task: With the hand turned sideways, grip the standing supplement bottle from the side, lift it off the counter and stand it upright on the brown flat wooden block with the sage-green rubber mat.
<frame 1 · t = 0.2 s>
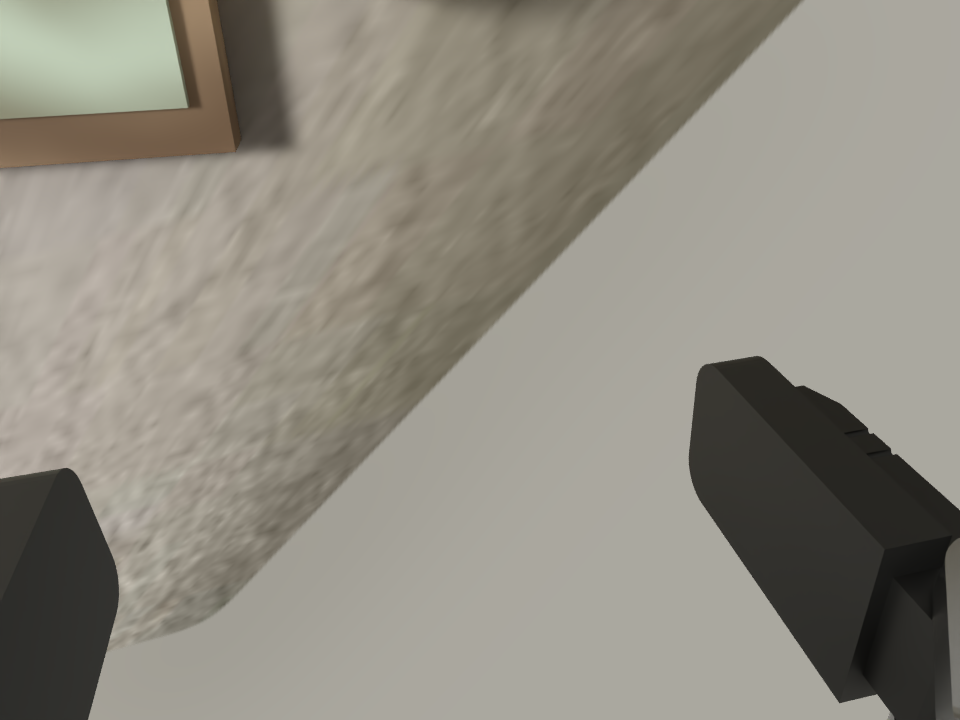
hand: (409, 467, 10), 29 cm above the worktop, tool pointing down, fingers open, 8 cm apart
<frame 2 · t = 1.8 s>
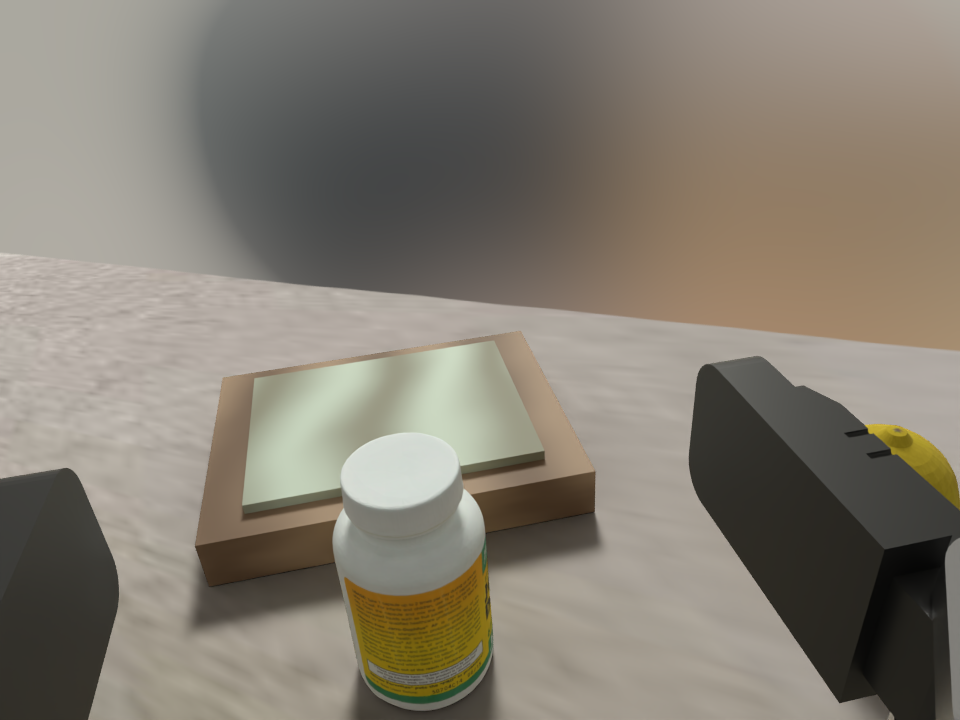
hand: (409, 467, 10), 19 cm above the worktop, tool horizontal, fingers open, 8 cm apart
lemon: (854, 586, 32), on the worktop
supplement bottle: (428, 658, 30), on the worktop
brown flat wooden block: (393, 456, 41), on the worktop
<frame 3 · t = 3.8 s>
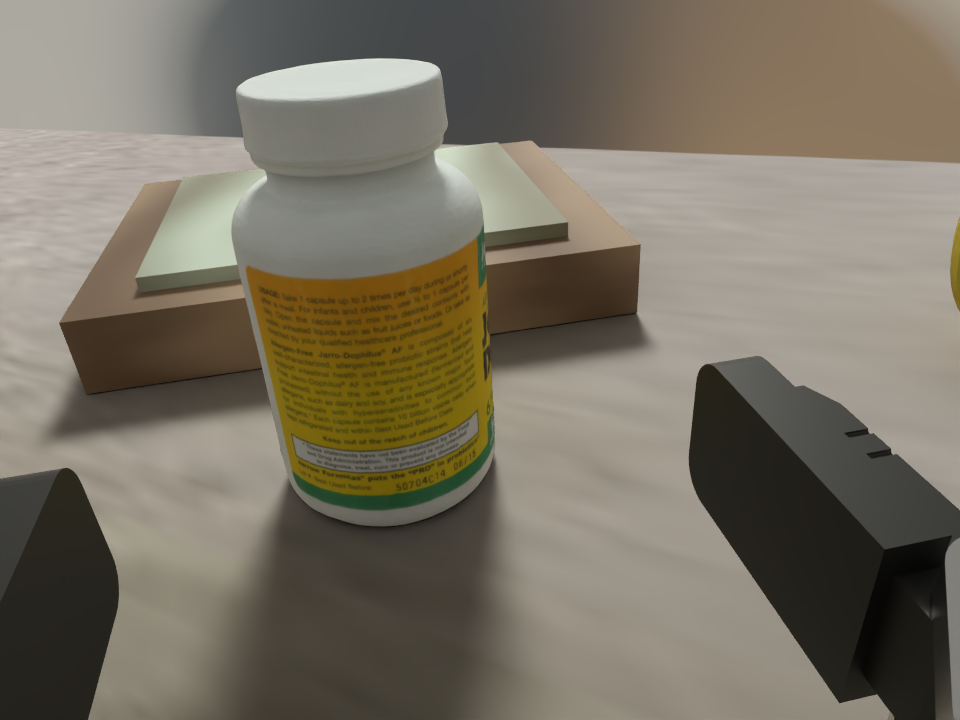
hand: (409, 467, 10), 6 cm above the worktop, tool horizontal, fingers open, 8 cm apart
supplement bottle: (395, 469, 20), on the worktop
brown flat wooden block: (362, 268, 31), on the worktop
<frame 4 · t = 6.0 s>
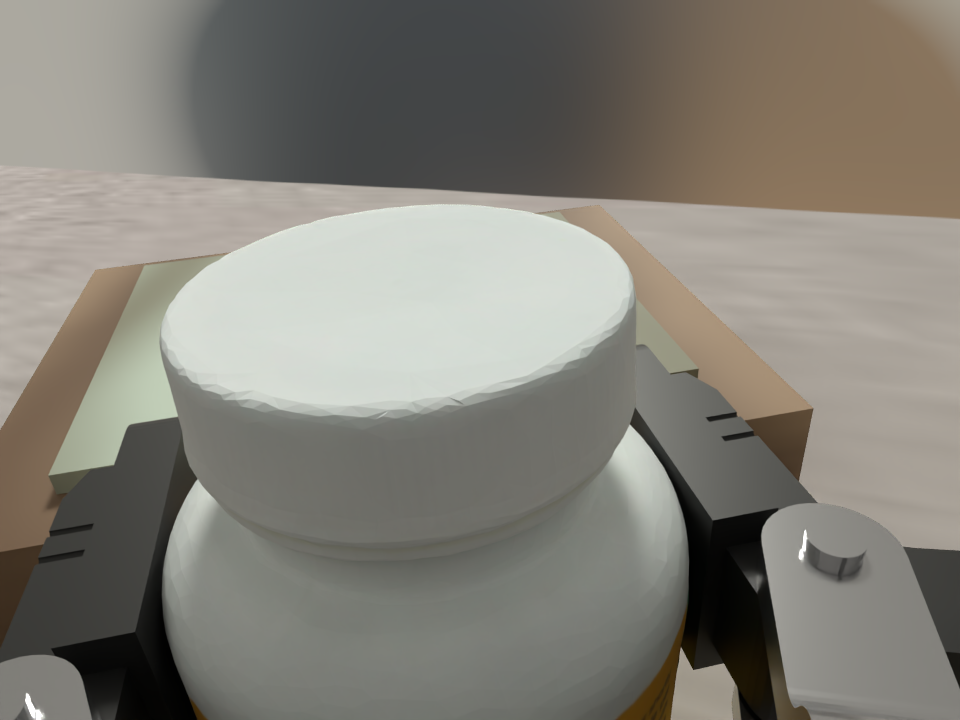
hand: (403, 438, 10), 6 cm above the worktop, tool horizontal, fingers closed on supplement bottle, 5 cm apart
brown flat wooden block: (386, 398, 22), on the worktop
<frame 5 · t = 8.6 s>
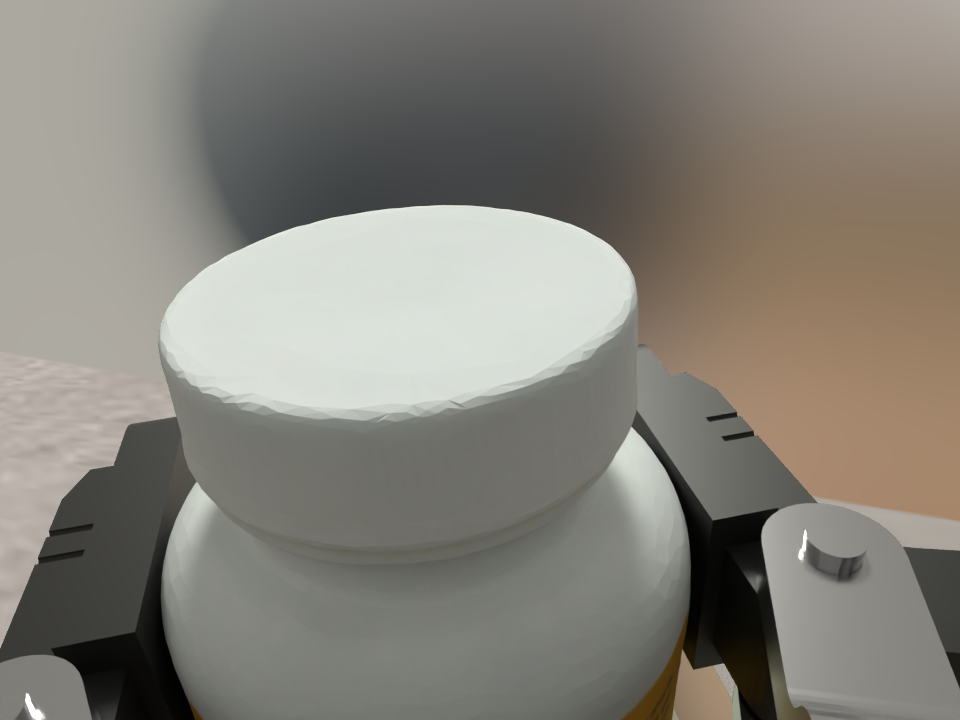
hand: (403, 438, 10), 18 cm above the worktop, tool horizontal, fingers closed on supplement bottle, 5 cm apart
when the fingers open (10 cm above the worktop, at t = 11.4 s): supplement bottle drops 1 cm, resting on brown flat wooden block.
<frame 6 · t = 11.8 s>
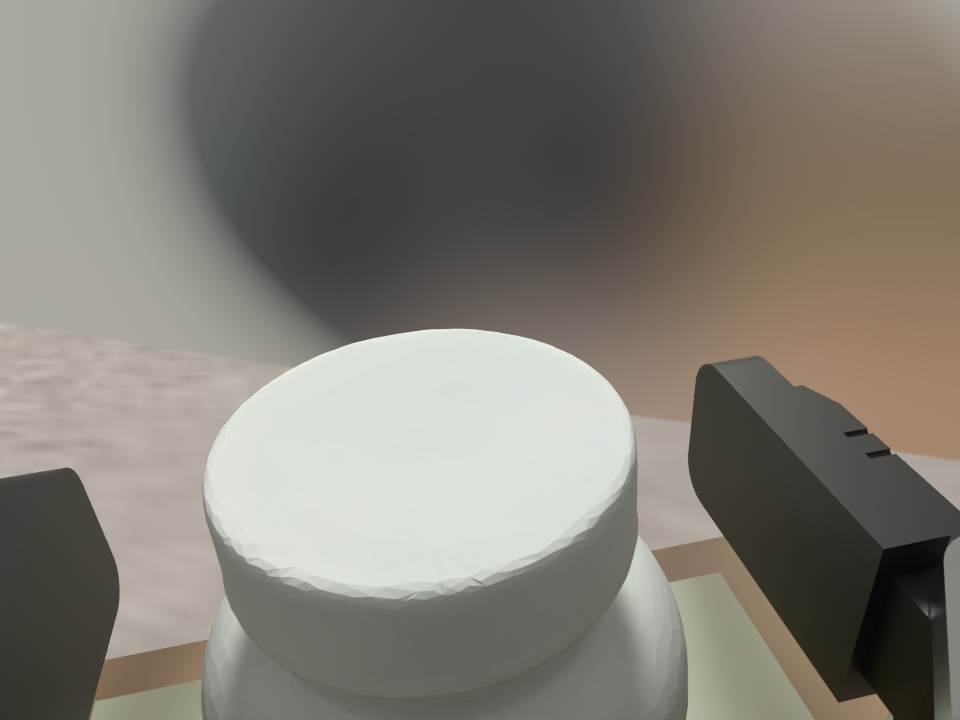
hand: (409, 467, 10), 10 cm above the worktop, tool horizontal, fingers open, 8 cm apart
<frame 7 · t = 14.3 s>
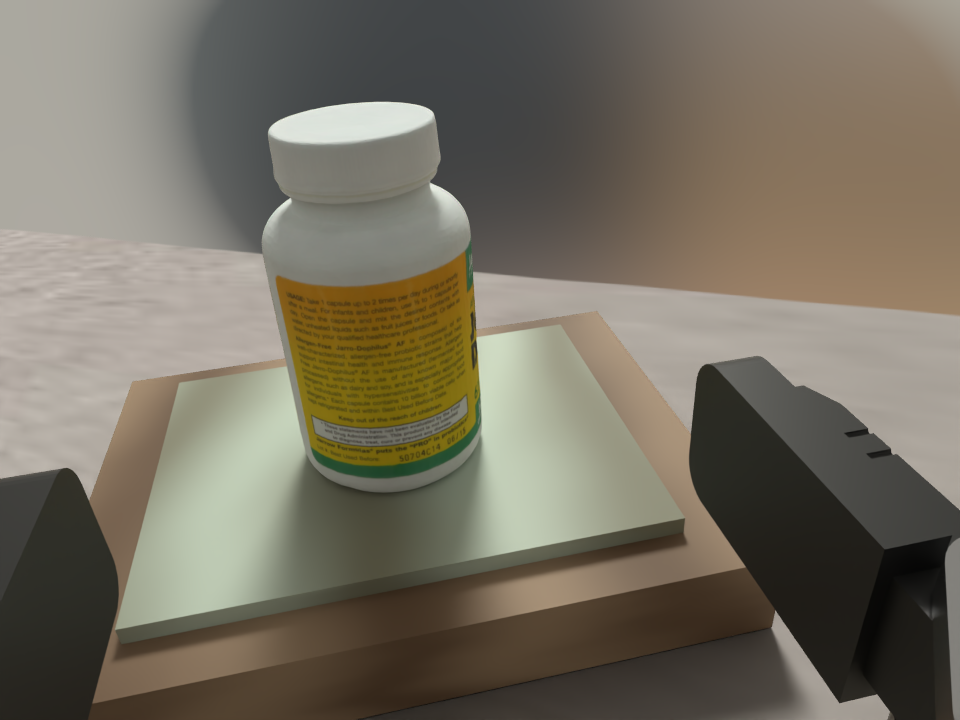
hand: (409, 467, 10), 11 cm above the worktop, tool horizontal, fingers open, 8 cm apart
supplement bottle: (396, 446, 23), point 3 cm above the worktop, touching brown flat wooden block
brown flat wooden block: (403, 513, 25), on the worktop
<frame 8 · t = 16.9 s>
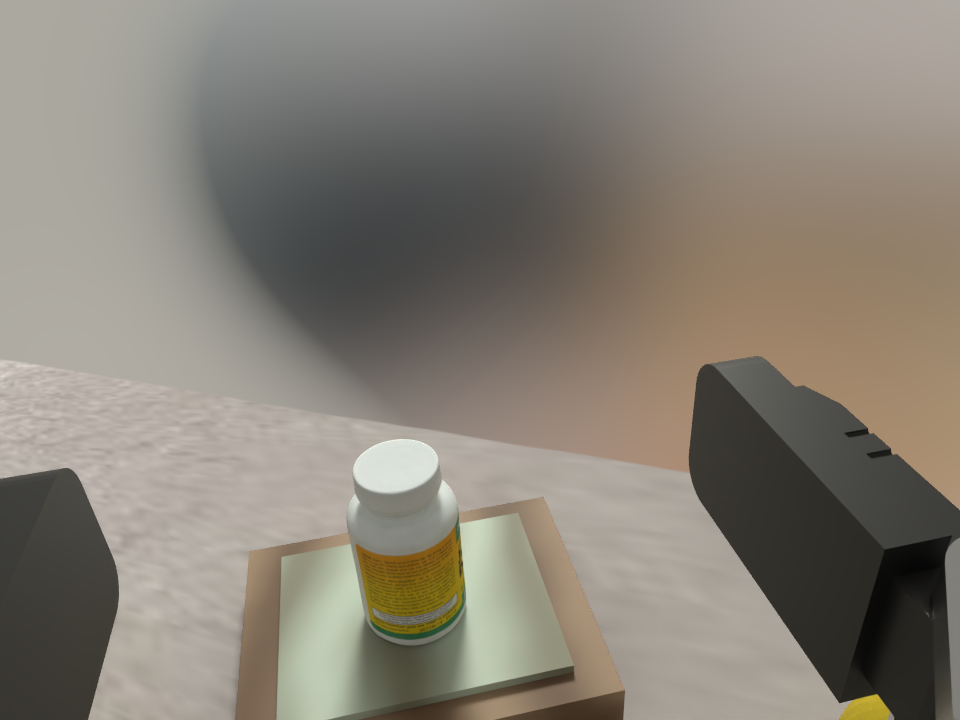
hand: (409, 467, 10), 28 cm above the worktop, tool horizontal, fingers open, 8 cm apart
supplement bottle: (417, 610, 40), point 3 cm above the worktop, touching brown flat wooden block
brown flat wooden block: (420, 644, 41), on the worktop
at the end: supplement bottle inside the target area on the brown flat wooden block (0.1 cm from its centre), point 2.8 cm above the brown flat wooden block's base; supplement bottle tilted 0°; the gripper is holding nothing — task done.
